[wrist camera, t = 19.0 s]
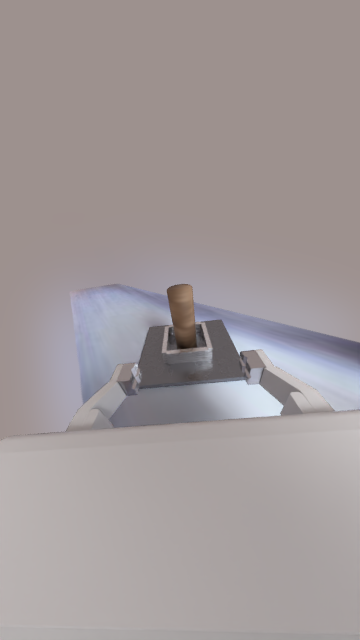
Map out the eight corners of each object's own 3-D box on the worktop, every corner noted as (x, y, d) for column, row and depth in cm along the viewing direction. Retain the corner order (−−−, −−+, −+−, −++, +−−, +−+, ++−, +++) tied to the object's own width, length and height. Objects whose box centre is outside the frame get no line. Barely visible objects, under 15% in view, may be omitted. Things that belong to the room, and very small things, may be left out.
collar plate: (221, 322, 35) (221, 310, 33) (248, 379, 21) (252, 365, 20) (150, 329, 36) (147, 318, 34) (133, 389, 22) (127, 376, 20)
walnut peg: (195, 338, 30) (191, 282, 23) (198, 351, 26) (193, 291, 20) (177, 339, 30) (167, 285, 23) (177, 353, 26) (165, 295, 20)
